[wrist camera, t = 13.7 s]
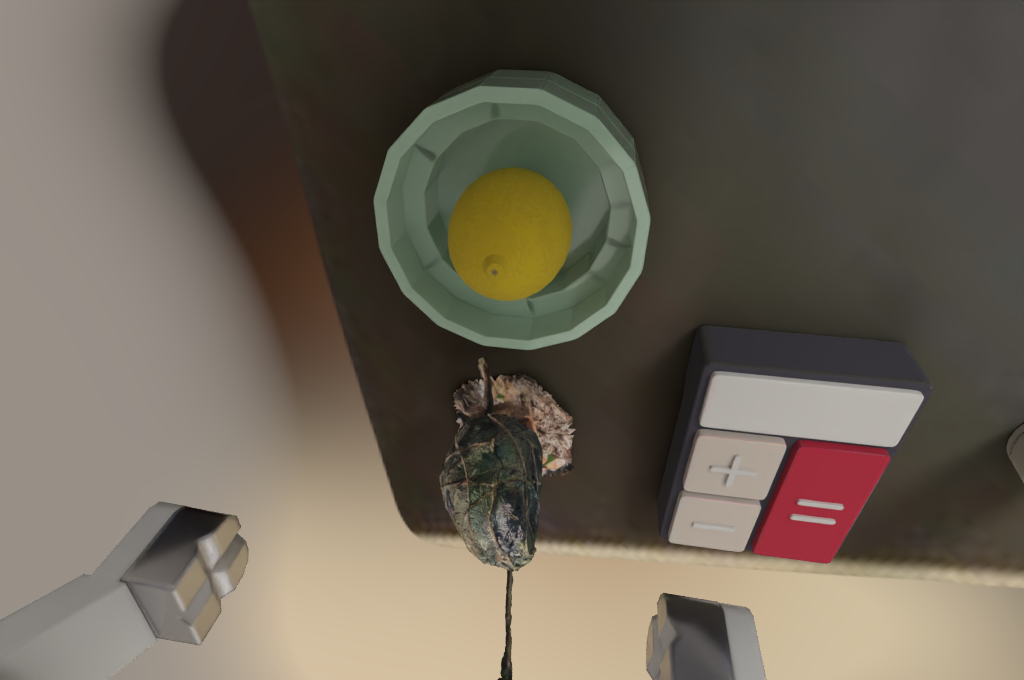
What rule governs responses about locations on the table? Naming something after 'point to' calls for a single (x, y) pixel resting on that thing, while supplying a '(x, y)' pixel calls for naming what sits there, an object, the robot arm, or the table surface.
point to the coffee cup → (1017, 450)
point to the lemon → (509, 234)
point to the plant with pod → (503, 471)
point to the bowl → (522, 144)
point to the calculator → (784, 439)
